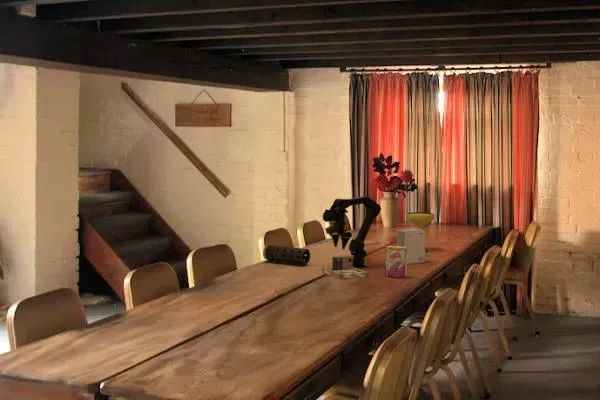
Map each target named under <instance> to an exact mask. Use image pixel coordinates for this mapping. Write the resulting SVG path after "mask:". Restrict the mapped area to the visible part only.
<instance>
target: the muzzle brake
mask: <svg viewBox="0 0 600 400" xmlns="http://www.w3.org/2000/svg"><path fill="white" fill-rule="evenodd" d="M262 255H263V258H264V259H265V260H267V261H270V262H274V263H276V264H281V263H286V264H290V265H295V266H296V265H298V266H304V267H305V266H307V265H308V263H310V260H311V253H310V250H309V249H308V248H301V247H300V248H299V247H288V246H283V245H282V246H279V245H278V246H277V245H276V244H275V245H274V244H269V245H265V246H264V247H263V251H262Z"/></svg>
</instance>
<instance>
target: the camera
mask: <svg viewBox="0 0 600 400" xmlns="http://www.w3.org/2000/svg"><path fill="white" fill-rule="evenodd" d="M352 258H353V255H351V254H343V255H333V256H332V262H331V263H332V265H331V266H332V271H337V270H350V269H352V267H353V266H352Z"/></svg>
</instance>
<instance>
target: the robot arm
mask: <svg viewBox="0 0 600 400" xmlns="http://www.w3.org/2000/svg"><path fill="white" fill-rule="evenodd" d="M361 204H363V205H362V206H364V208H365V218H364V220H363V222H362V224H361V225H360V228H359V231H358V232H357V236H356V237H355V238H354V239H353V238H352V237H353V233H352V232H351V231H347V230H346V225H347V222H346V214H347V213H349V211H348V210H347V209H348V208H349V207H352V206H357V205H361ZM381 207H382V206H381V205H380V204H379V203H377V202H376V201H374V199H372V198H370V197H369V196H367V195H363V196H358V197H351V198H335V199H334V200H333V203H332V205H331V206H330V208H329V209H325V210H324V212H323V214H322V219H323V221H324V222H326V223H328V222H329V223H330V222H333V223H332V225H329V226H328V227H325V228H324V229H325V233H326V235H328V236H330V237H331V239H332V243H333V245H334V247H335V248H336V247H337V246H338V244H339V240H341V249H342V250H345V248H346V246H347V245H348V250H349V252H350V255H351V256H352V267H354V268H364V267H366V264H365V257H367V255H368V252H367V251H366V250H365V240H366V237H367V235H368V233H369V231H370V228H371V226H372V224H373V221H374V220H375V219H376V218H378V216H379V214H380V213H381V211H382V208H381ZM350 239H351V240H350ZM349 241H350V243H349V244H348V242H349Z"/></svg>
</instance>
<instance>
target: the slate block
mask: <svg viewBox="0 0 600 400" xmlns="http://www.w3.org/2000/svg"><path fill="white" fill-rule="evenodd" d="M346 273H358V272H357V271H356V270H350V271H341V274H346Z"/></svg>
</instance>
